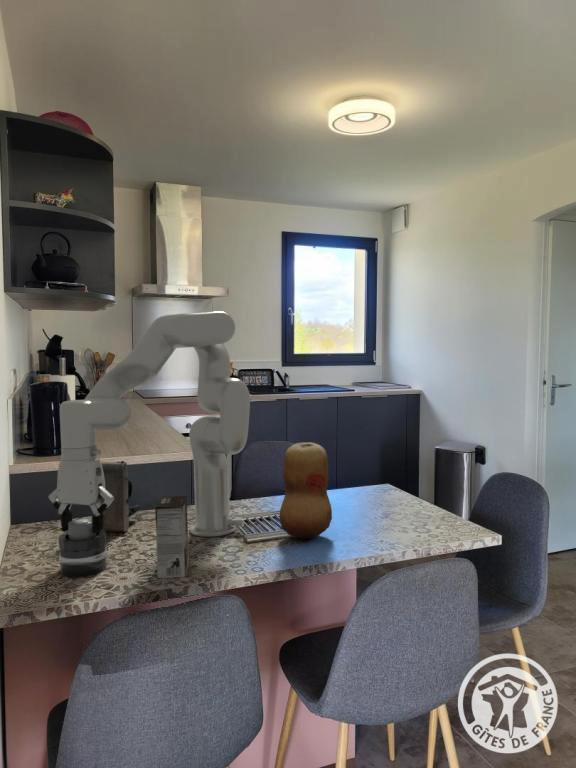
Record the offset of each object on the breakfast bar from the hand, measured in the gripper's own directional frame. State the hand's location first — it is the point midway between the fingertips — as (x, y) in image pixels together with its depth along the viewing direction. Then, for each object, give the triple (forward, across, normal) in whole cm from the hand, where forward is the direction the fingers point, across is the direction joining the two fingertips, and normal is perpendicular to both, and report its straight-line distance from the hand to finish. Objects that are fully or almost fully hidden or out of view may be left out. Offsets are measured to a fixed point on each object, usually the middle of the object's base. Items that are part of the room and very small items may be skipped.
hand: (82, 530), depth 134 cm
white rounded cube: (+3, 0, 0) cm, 3 cm away
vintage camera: (+9, +10, -33) cm, 36 cm away
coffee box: (+9, -21, -3) cm, 23 cm away
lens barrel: (+9, 0, 0) cm, 9 cm away
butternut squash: (+9, -46, -31) cm, 56 cm away
